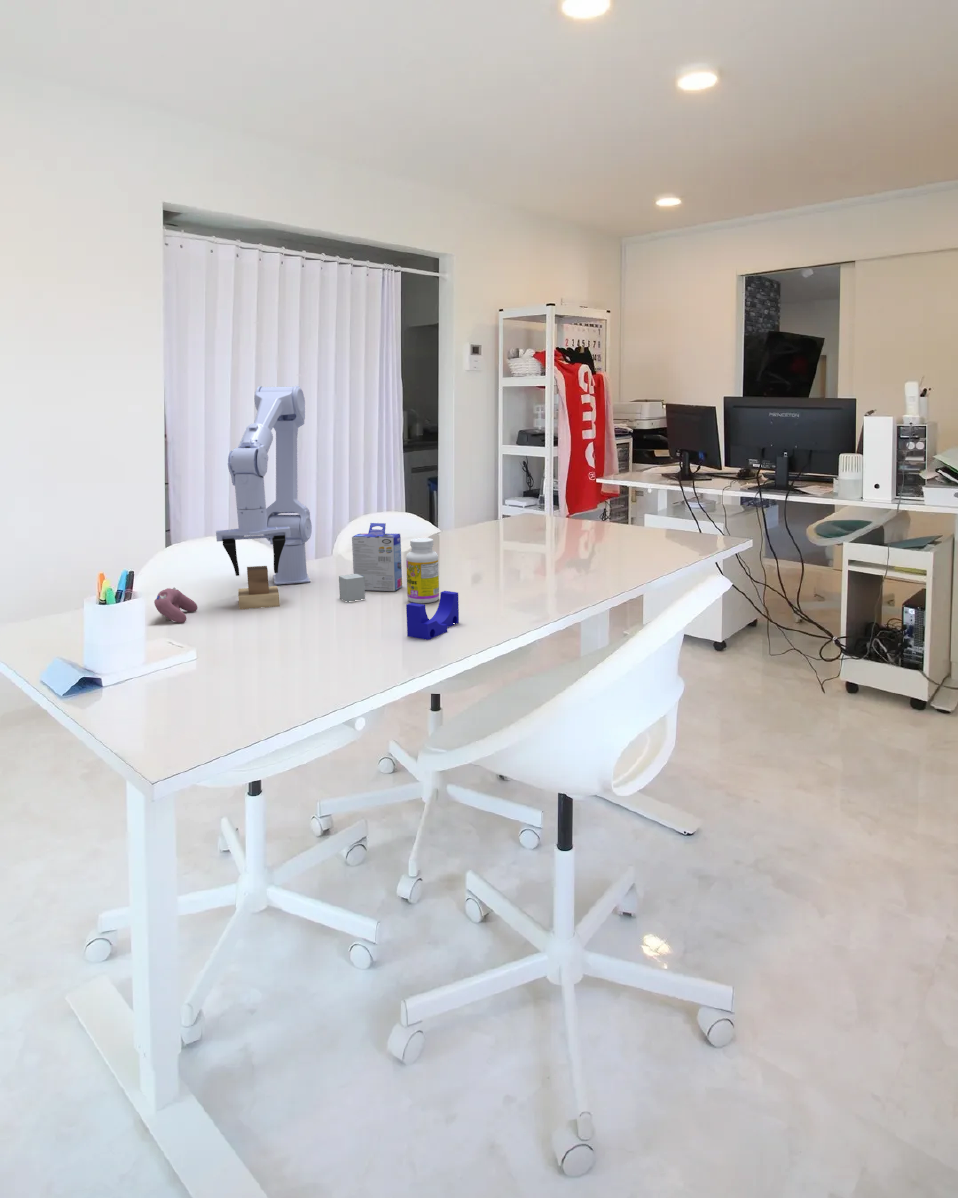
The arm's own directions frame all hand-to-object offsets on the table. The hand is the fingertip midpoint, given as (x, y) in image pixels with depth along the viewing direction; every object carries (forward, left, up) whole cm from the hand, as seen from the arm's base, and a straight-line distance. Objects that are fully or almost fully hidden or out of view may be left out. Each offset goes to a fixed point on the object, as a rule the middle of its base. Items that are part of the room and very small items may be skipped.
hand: (256, 573), depth 167 cm
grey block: (+3, +19, -6) cm, 20 cm away
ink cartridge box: (-5, +26, -7) cm, 27 cm away
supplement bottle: (+9, +33, -7) cm, 35 cm away
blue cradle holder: (+32, +30, -7) cm, 44 cm away
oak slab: (0, 0, -7) cm, 7 cm away
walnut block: (+1, 0, -4) cm, 4 cm away
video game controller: (+6, -16, -7) cm, 18 cm away
